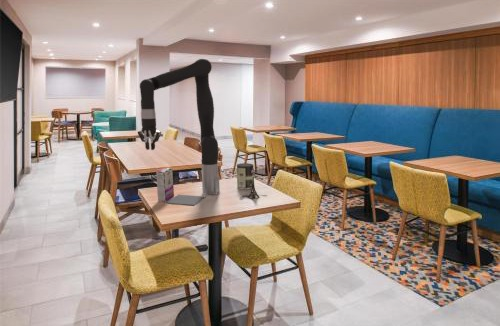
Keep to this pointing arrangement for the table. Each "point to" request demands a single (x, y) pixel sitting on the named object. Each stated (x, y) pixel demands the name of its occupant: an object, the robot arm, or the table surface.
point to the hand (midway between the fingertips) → (150, 149)
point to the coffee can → (244, 176)
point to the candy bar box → (165, 184)
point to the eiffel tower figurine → (252, 193)
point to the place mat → (185, 200)
